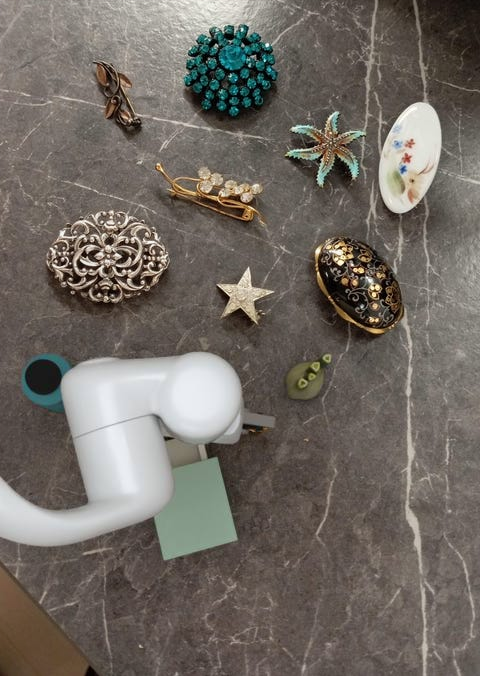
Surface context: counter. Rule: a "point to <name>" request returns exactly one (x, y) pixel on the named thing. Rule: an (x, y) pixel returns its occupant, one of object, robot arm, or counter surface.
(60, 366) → the beverage bottle
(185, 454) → the drawer
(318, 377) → the fennel bulb
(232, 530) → the green drawer cabinet
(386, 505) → the counter surface
